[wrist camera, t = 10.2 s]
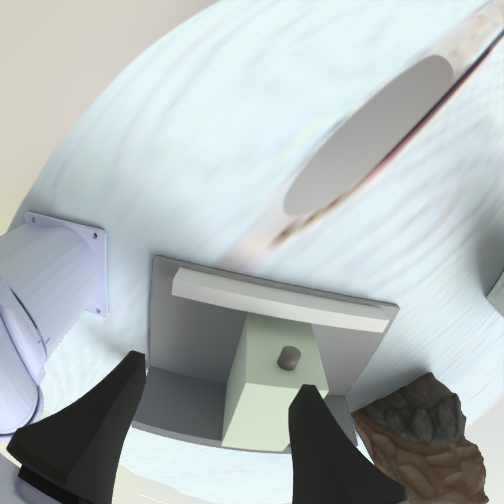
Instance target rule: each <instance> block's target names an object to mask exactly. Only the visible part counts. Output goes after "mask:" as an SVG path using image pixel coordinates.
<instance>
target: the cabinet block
mask: <svg viewBox="0 0 504 504" xmlns="http://www.w3.org/2000/svg"><path fill="white" fill-rule="evenodd" d="M303 384H309V385H315V386H316V387H317V389H318V391H319V393H320V394H321V396H322V398H323V399H324V398H325V396H326V395H327V393H328V392H329V388H328V384H327V380H326V376H325V372H324V368H323V365H322V361H321V357H320V353H319V350H318V346H317V342H316V338H315V335H314V331H313V328H312V324H311V323H307V322H301V321H295V320H289V319H284V318H278V317H273V316H267V315H262V314H257V313H252V312H248V313H247V316H246V320H245V323H244V327H243V330H242V334H241V337H240V341H239V344H238V347H237V351H236V354H235V358H234V361H233V365H232V368H231V372H230V375H229V378H228V382H227V388H226V399H225V409H224V420H223V431H222V442H221V446H225V447H233V448H241V449H251V450H263V451H283V450H284V449H285V448H286V447H287V445H288V444H289V443H290V437H289V429H288V408H289V406H290V404H291V403H292V401H293V400H294V398H295V396H296V395H297V393H298V391H299V390H300V388H301V386H302V385H303Z"/></svg>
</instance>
